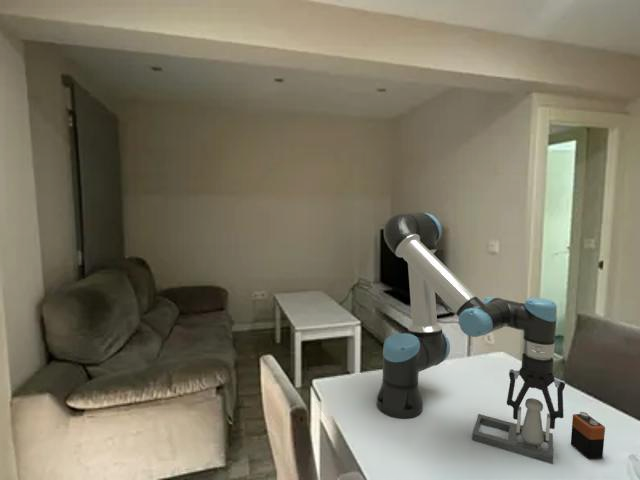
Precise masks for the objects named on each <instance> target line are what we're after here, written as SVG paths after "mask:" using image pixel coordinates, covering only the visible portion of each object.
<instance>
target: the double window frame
mask: <svg viewBox="0 0 640 480" xmlns="http://www.w3.org/2000/svg"><path fill="white" fill-rule="evenodd" d="M481 425H482V426H483V425H484V426H487V427H490V428H495V429H498V430H501V431H505V432H508V435H507V439H506V438H503V437H499V436H496V435H492V434H489V433H485V432H482V431H480V428H481ZM522 427H523V424H520V433H521V430H522ZM520 433H517V423H515V422H511V421H507V420H503V419H499V418H495V417H492V416H488V415H484V414H481V413H478V415H477V418H476V421H475V424H474V427H473V431H472V433H471V441H474V442H478V443H481V444H485V445H487V446H492V447H495V448H497V449H501V450H504V451H508V452H511V453H514V454H517V455H521V456H525V457H528V458H531V459H535V460H537V461H541V462H544V463H547V464H552V465H553V464H554V435H553V434H554V433H552V432H549V441H546V430H543V435H544V441H543V443H544V442H545V443H547V444H548V445H547V447H548V448H547V449H548V450H544V449H542V448H535V447H531V446H528V445H524V443H521V442H517V437H518V435H519V436H521V435H520Z"/></svg>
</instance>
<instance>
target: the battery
mask: <svg viewBox="0 0 640 480" xmlns="http://www.w3.org/2000/svg"><path fill="white" fill-rule="evenodd" d="M571 421H572V422H571V434H570V435H571V436H570V444H571V446H572V447H573V448H575V449H577V451H578V452H580V453H581V454H582V455H583V456H585V457H586V458H587V459H588V460H592V459H593V460H594V459H603V456H604V445H605V444H604V443H605V432H606V426H605V425H603V424H601V422H599V421H597V420H596V419H595V418H593V417H592V416H590V415H589V414H588V413H587V412H585V411H579V413H576V414H572V420H571Z"/></svg>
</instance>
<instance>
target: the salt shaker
mask: <svg viewBox="0 0 640 480" xmlns="http://www.w3.org/2000/svg"><path fill="white" fill-rule="evenodd" d="M524 404H525V408H526V413H525V416H524V419H523V423H522V426H523V427H522V430H521V433H520V435H519V436H520V438H521V440H522V444H524V445H528V446H531V447H535V448H538V449H540V447H541V446H542V445H543V444H544V435H543V431H544V429H543V422H542V414H541V412H542V411H543V409H544V405H543V403H542V402H541V400H539V399H537V398H531V397H529V398H527V399H526V400H525V403H524Z"/></svg>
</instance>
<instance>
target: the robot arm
mask: <svg viewBox="0 0 640 480" xmlns="http://www.w3.org/2000/svg"><path fill="white" fill-rule="evenodd" d="M442 231H443V230H442V226H441V223H440V221H439V220H438V219H437V218H436V217H435V216H434V215H433V214H430V213H426V212H425V213H424V212H412V213H411V212H410V213H405V212H401V213H400V212H399V213H396V214H394V215H392V216H391V217H389V218H388V219H387V220H386V221H385V224H384V227H383V238H384V241H385V243H386V244H387V247H388V248H389V249H390V251H391V252H392V253H393V254H394V255H395V256H396V257H398V258H403V260H404V261H405V262H407V268H408V269H407V271H408V282H409V283H408V284H409V297H410V298H409V299H410V311H411V324H410V325H409V326H408V328H407V331H408V332H407V333H394V334H391V335H389V336H388V337H387V338H385V340H384V342H383V349H382V383H381V384H380V388H379V391H378V394H377V396H376V406H377V409H378V410H379V411H380V412H382V413H384V414H385V415H387V416H389V417H393V418H398V419H411V418H416V417H417V416H420V415H421V414H422V412H423V410H424V402H423V401H424V400H423V397H422V394H421V391H420V389H419V374H420V372H422V371H425V370H427V369H430V368H431V367H434V366H435V367H436V366H438V365H440V364H441V363H443V362H444V361H446V359H447V358H448V357H449V354H450V352H451V342H450V340H449V338H448V337H447V335H446V333H445V332H444V331H443V327H442V325H440V324H439V323H438V319H437V318H438V317H437V305H436V303H437V301H436V294H437V295H438V297H440V298H441V300H442V301H443V302H444V303H445V304H446V305H447V306H448V307H449V308H450V309H451V310H452V311H453V312H454V313H455V315H457V317H458V324H459V328H460V330H461V331H462V333H463V334H465V335H466V336H468V337H472V338H476V337H482V336H486V335H488V334H490V333H492V332H495V331H497V330H499V329H500V330H501V329H502V328H505V327H506V328H507V327H508V328H512V329H514V330H520V331H523V337H522V352H523V353H522V354H521V355H522V356H521V367H520V369H519V370H514V369H509V372H508V376H509V380H510V381H509V387H508V392H507V398H506V405H507V406H509V407H512V410H513V411H512V413H513V414H512V418H513V420H516V421H517V422H516V424H517V433H520V425H521V421H522V420H521V419H522V406H521V404H522V402H523V400H524V398H525V397H526V394H527V392H528V390H529V389H530V388H531V389H537V390H538V391H539V390H540V391H541V392H542V394H543V398H544V400H545V404H546V407H547V410H548V412H547V413H546V425H545V432H546V441H549V433H550V430H551V429H552V430H555V426H556V419H557V418H559V419H564V394H563V393H564V390H565V388H566V381H565V380H564V379H559V378H556V377H555V376H554V374H553V373H554V372H553V371H554V356H555V346H556V345H555V344H556V330H557V329H556V328H557V321H558V316H557V315H558V314H557V310H558V309H557V304H556V302H555V301H553V300H550V299H547V298H542V297H541V298H539V297H529V298H527V299H526V300H525V302H524V303H522V302H518V301H512V300H509V299H504V298H501V297H492V296H487V297H485V298H484V300H481V299H480V298H478V297H477V295H475V294H474V293H473V292H472V291H471V290H470V288H468V287H467V286H466V284H464V283H463V282H462V280H460V279H459V278H458V277H457V276H456V275H455V273H453V272H452V271H451V270H450V269H449V268H448V267H447V266H446V265H445V264H444V263H443V262H442V261H441V260H440V259H439V258H438V257H437V256H436V255H435V252H436V251H437V243H438V242H439V240H440V239H441V237H442V234H443V233H442ZM519 376H520V378H521V379H522V380H523V385H522V387H521V389H520V391H519V392H518V394H517V396H516V398H515V400H513V398H514V391H515V390H514V389H515V386H516V385H515V384H516V380H518V378H519ZM553 383H554V387H555V388H556V390H557V391H556V392H557V394H556V395H557V410H555V407H554V405H553V404H554V403H553V401H552V398H551V394H550V391H549V387H550V386H551V385H552V384H553Z"/></svg>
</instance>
